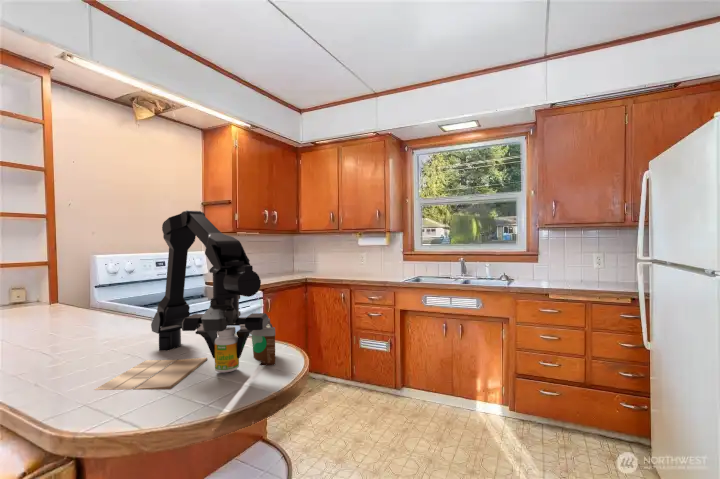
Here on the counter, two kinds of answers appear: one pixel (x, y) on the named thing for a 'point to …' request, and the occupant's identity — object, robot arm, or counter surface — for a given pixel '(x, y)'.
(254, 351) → the food container
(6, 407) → the counter surface
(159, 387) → the plank
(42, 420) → the counter surface
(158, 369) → the floor board
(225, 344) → the supplement bottle
